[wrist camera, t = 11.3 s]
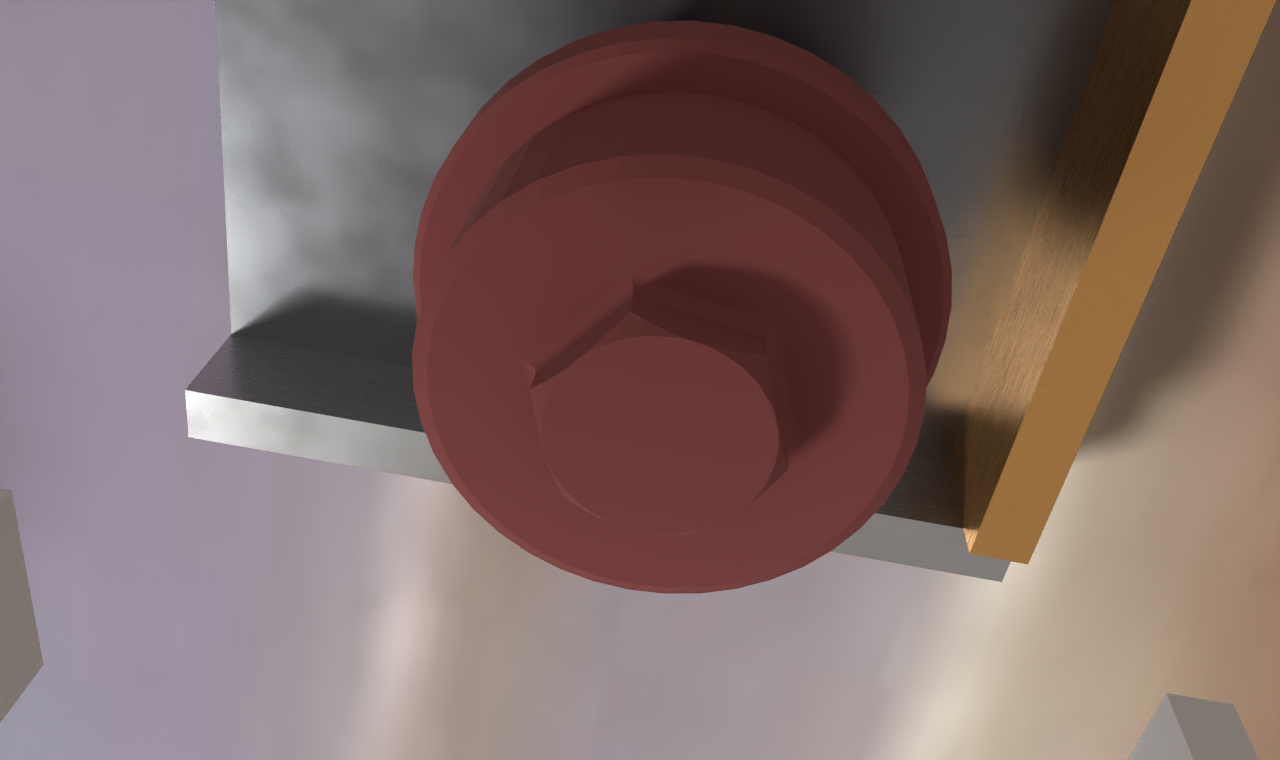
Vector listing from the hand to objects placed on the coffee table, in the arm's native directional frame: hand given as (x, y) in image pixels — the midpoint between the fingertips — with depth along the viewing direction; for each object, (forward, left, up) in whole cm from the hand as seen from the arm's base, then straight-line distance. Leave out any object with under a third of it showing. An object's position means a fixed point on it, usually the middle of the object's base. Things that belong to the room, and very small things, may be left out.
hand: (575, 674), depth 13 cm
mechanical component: (+1, 0, -18) cm, 18 cm away
